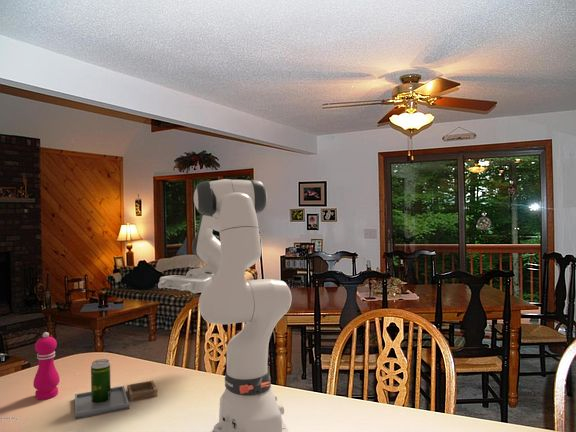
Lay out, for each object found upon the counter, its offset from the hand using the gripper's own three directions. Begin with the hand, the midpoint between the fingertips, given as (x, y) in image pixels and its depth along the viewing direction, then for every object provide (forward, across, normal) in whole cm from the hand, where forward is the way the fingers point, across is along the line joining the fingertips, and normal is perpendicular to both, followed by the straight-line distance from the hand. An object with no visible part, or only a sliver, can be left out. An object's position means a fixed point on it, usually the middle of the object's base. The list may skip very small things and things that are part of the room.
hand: (169, 286), depth 149 cm
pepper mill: (+27, -26, +32) cm, 50 cm away
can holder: (+12, 0, +32) cm, 34 cm away
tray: (+23, -6, +32) cm, 40 cm away
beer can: (+23, -6, +32) cm, 40 cm away
